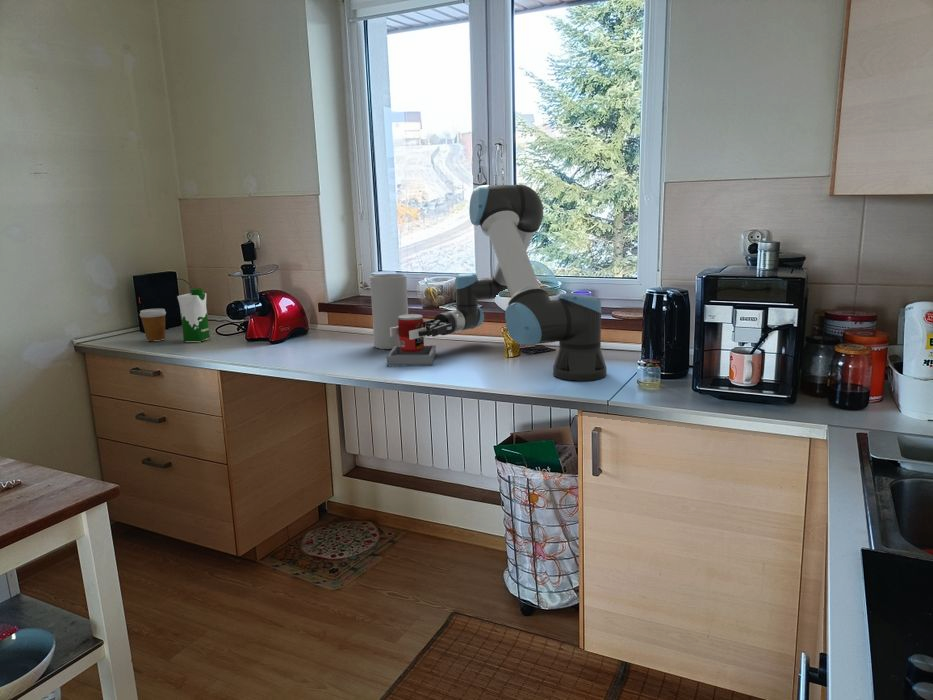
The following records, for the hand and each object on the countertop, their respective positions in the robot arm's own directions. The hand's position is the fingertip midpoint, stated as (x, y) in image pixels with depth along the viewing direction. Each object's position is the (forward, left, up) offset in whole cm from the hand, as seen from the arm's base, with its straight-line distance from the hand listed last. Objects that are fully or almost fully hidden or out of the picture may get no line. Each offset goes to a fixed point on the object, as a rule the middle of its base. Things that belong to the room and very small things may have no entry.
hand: (400, 333), depth 218 cm
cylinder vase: (+26, +7, -10) cm, 28 cm away
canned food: (+4, -3, -6) cm, 8 cm away
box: (+4, -3, -9) cm, 10 cm away
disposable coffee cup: (+45, +102, -10) cm, 112 cm away
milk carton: (+43, +85, -10) cm, 96 cm away
